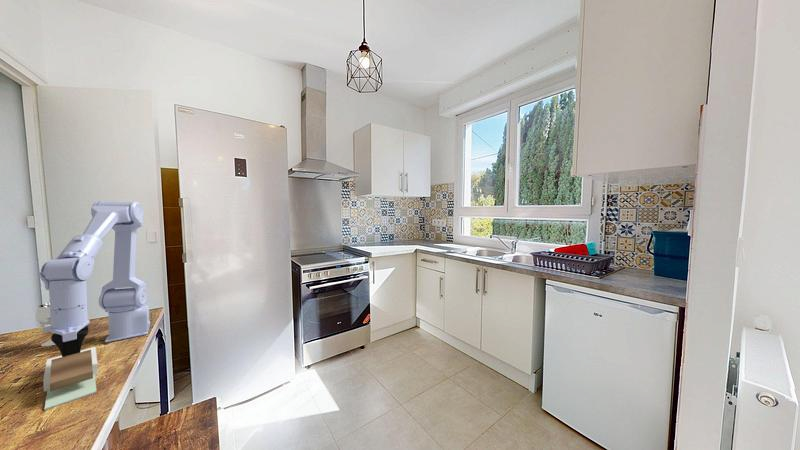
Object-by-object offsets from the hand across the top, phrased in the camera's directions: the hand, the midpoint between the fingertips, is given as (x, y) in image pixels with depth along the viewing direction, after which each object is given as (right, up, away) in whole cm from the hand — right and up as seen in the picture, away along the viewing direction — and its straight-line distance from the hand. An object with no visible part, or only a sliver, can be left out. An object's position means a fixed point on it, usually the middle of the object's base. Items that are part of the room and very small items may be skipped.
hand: (71, 359), depth 64 cm
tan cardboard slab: (+4, -2, -3) cm, 5 cm away
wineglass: (-25, -3, +15) cm, 29 cm away
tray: (-1, -4, +1) cm, 4 cm away
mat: (+7, -5, -5) cm, 10 cm away
